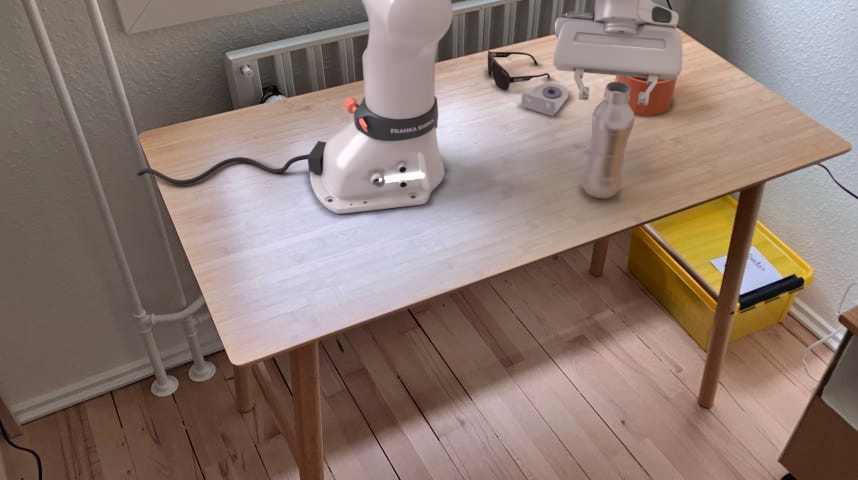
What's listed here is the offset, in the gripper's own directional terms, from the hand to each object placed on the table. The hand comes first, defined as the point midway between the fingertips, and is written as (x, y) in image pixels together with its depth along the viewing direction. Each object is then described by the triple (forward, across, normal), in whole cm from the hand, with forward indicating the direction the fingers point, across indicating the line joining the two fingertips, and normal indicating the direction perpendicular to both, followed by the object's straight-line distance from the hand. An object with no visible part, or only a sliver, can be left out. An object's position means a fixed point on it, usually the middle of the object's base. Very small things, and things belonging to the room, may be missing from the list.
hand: (613, 101), depth 133 cm
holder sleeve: (-8, +8, +29) cm, 31 cm away
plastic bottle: (+14, 0, +8) cm, 16 cm away
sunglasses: (-11, -17, +32) cm, 38 cm away
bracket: (-5, -11, +26) cm, 29 cm away
